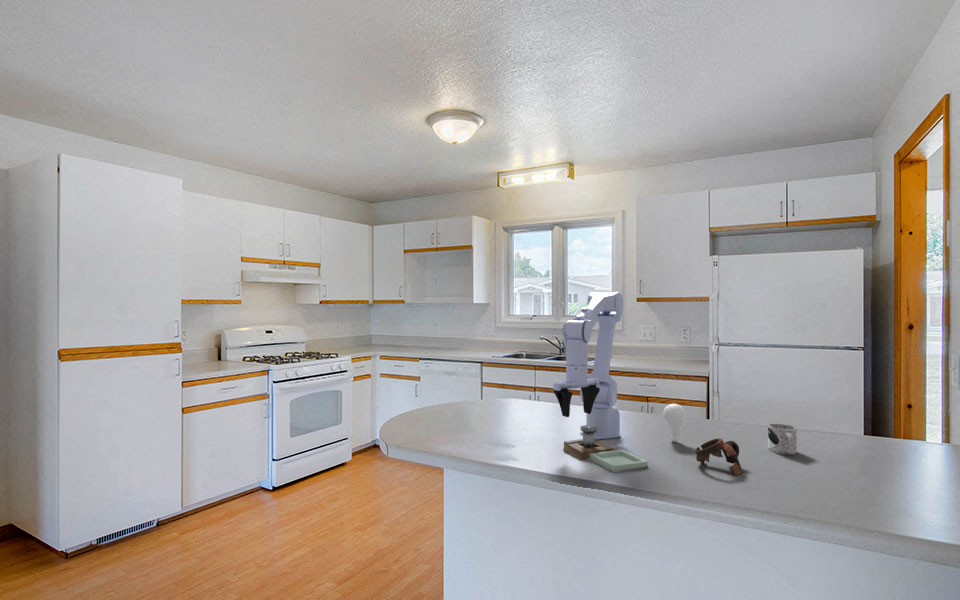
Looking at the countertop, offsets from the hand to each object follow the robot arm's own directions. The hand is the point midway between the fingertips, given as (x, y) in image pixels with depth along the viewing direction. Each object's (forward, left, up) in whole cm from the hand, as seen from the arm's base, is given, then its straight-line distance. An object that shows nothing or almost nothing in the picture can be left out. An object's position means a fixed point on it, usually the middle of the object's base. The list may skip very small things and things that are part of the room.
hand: (576, 414), depth 132 cm
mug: (-52, +20, -10) cm, 57 cm away
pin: (-2, +2, -10) cm, 10 cm away
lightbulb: (-31, +2, -10) cm, 33 cm away
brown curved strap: (-26, +23, -10) cm, 37 cm away
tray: (-4, +12, -10) cm, 16 cm away
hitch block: (-2, +2, -10) cm, 10 cm away
